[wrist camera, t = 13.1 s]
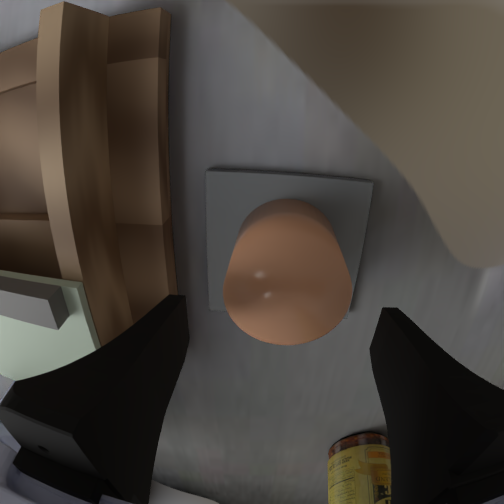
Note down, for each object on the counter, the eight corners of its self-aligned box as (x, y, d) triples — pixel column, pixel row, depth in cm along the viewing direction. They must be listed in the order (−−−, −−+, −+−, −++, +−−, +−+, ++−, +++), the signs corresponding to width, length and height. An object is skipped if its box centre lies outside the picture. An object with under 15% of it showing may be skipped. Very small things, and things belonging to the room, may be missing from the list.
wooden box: (184, 348, 21) (163, 410, 16) (-13, 308, 22) (-45, 342, 17) (171, 14, 12) (124, -16, 7) (-56, 88, 13) (-106, 100, 8)
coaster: (345, 312, 19) (347, 318, 18) (210, 304, 19) (209, 310, 19) (370, 180, 15) (373, 183, 15) (208, 168, 16) (205, 171, 15)
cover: (124, 409, 17) (115, 429, 15) (-27, 356, 17) (-37, 368, 16) (82, 282, 13) (64, 303, 11) (-71, 256, 13) (-85, 267, 12)
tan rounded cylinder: (330, 288, 17) (343, 344, 13) (238, 287, 18) (227, 343, 14) (339, 199, 15) (360, 238, 11) (234, 198, 16) (218, 236, 12)
